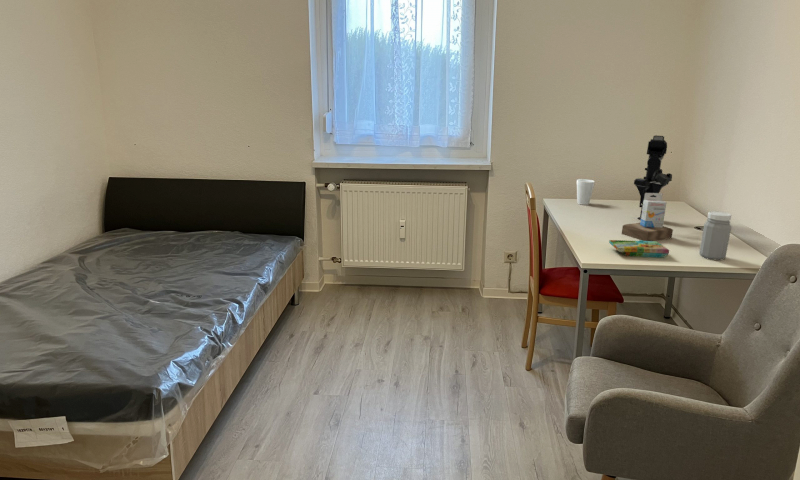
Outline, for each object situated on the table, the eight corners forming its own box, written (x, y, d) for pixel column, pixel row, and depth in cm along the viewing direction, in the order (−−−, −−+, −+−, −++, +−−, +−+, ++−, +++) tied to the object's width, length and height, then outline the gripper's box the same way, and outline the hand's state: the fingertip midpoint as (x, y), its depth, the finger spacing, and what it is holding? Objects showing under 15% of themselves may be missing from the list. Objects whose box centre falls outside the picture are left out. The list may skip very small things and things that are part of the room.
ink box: (644, 227, 270) (649, 194, 267) (639, 224, 275) (644, 192, 272) (663, 227, 271) (668, 195, 267) (658, 225, 276) (662, 193, 272)
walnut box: (646, 231, 284) (647, 221, 282) (671, 239, 272) (673, 228, 270) (621, 235, 276) (622, 224, 275) (646, 243, 264) (647, 232, 263)
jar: (696, 252, 251) (704, 209, 246) (722, 255, 248) (730, 212, 243) (700, 259, 242) (708, 215, 237) (727, 262, 239) (736, 217, 234)
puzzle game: (669, 247, 240) (618, 245, 240) (667, 259, 241) (617, 257, 242) (658, 239, 251) (609, 238, 252) (656, 250, 252) (608, 248, 253)
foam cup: (571, 203, 336) (574, 180, 333) (577, 201, 343) (580, 178, 340) (588, 206, 331) (591, 182, 327) (594, 203, 338) (597, 180, 335)
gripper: (656, 170, 274) (651, 204, 278) (681, 168, 283) (676, 200, 288) (635, 166, 283) (630, 199, 287) (660, 164, 292) (655, 196, 297)
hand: (648, 199), depth 289 cm, fingers open, 9 cm apart
